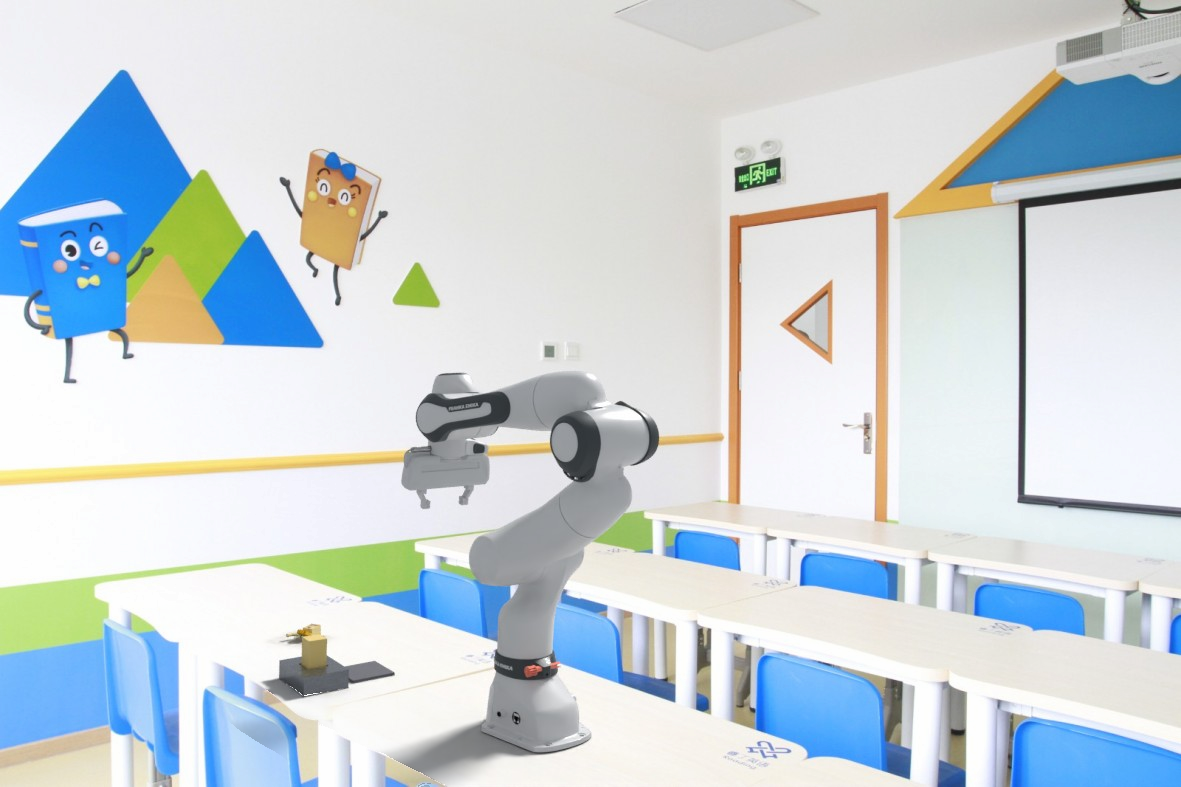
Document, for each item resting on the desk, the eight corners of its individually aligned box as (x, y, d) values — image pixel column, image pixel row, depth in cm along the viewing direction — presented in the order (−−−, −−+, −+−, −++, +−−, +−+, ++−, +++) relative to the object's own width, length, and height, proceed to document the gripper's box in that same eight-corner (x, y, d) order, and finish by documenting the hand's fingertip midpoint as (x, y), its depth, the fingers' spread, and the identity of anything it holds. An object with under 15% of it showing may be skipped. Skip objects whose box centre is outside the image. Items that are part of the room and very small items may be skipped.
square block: (325, 683, 197) (327, 638, 197) (308, 687, 195) (309, 641, 195) (318, 678, 200) (319, 634, 200) (300, 682, 198) (302, 636, 198)
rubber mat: (394, 675, 204) (394, 672, 204) (353, 683, 198) (353, 680, 198) (374, 663, 212) (374, 660, 212) (334, 670, 206) (334, 668, 206)
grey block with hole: (348, 687, 195) (349, 669, 195) (303, 696, 189) (304, 677, 189) (322, 670, 206) (322, 652, 206) (278, 678, 200) (279, 660, 200)
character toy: (284, 628, 226) (304, 621, 234) (284, 641, 227) (303, 633, 234) (311, 632, 224) (330, 625, 231) (310, 645, 224) (329, 637, 231)
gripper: (411, 450, 189) (407, 514, 191) (495, 445, 201) (490, 505, 203) (398, 444, 194) (394, 507, 196) (480, 440, 206) (476, 499, 208)
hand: (444, 506), depth 199 cm, fingers open, 8 cm apart
